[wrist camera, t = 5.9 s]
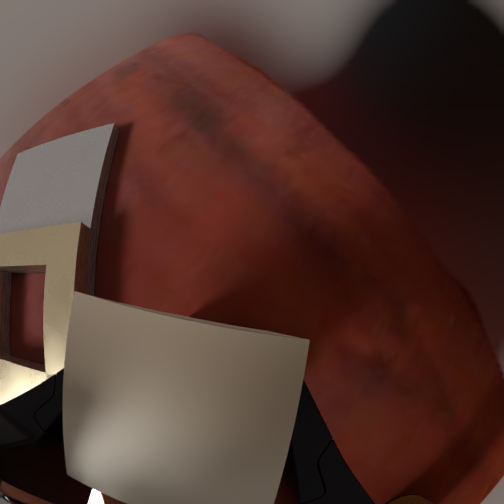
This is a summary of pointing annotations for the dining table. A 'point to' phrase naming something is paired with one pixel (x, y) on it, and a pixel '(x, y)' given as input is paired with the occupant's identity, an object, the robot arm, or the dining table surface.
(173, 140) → the dining table surface
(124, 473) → the maple pin
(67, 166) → the plate with square hole
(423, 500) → the disposable coffee cup
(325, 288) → the dining table surface
